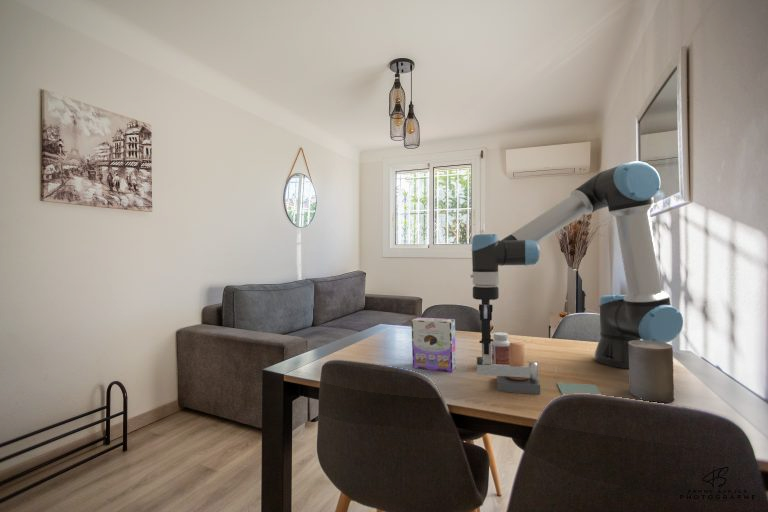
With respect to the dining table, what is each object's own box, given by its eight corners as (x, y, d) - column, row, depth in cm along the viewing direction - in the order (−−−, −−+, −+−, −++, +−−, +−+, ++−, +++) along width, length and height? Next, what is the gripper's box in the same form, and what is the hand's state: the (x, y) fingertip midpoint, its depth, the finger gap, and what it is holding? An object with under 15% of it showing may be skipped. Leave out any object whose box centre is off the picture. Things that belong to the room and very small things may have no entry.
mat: (595, 386, 107) (595, 385, 107) (605, 400, 97) (605, 398, 97) (556, 383, 110) (556, 382, 110) (562, 396, 100) (562, 395, 100)
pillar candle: (680, 396, 99) (678, 339, 99) (665, 406, 93) (664, 345, 93) (638, 386, 107) (636, 333, 107) (622, 394, 101) (621, 338, 101)
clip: (537, 380, 105) (537, 359, 105) (538, 383, 103) (538, 361, 103) (477, 376, 109) (476, 356, 109) (477, 378, 107) (476, 358, 107)
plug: (529, 382, 111) (528, 341, 111) (531, 391, 105) (531, 347, 104) (504, 380, 113) (503, 340, 113) (505, 389, 107) (504, 346, 106)
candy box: (456, 367, 127) (455, 318, 127) (452, 372, 122) (451, 321, 121) (417, 363, 133) (416, 316, 133) (411, 368, 127) (410, 319, 127)
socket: (535, 380, 113) (535, 372, 113) (540, 394, 102) (540, 385, 102) (497, 378, 116) (497, 369, 116) (497, 391, 105) (497, 382, 105)
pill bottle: (515, 367, 126) (514, 333, 126) (502, 370, 123) (502, 336, 123) (500, 362, 131) (499, 330, 131) (487, 366, 128) (487, 333, 128)
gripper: (473, 283, 121) (474, 357, 121) (471, 287, 108) (472, 369, 109) (498, 283, 119) (499, 358, 119) (498, 288, 106) (500, 371, 107)
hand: (486, 363), depth 114 cm, fingers closed
